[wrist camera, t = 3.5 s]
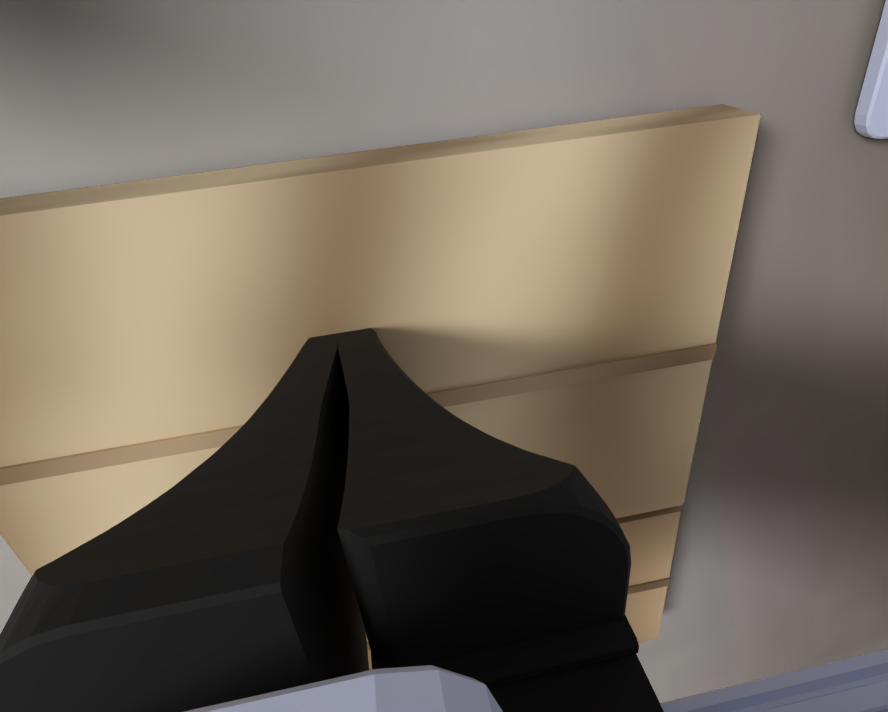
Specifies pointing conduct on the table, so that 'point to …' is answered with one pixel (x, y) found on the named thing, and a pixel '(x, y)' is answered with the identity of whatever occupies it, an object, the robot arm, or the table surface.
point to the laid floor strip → (645, 568)
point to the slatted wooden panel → (371, 306)
